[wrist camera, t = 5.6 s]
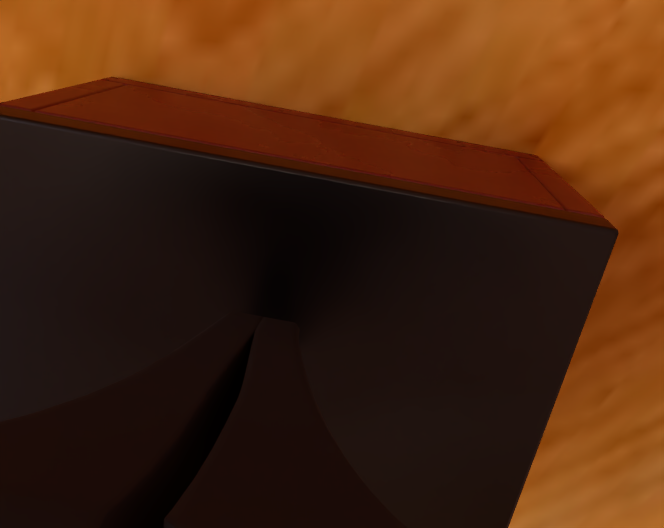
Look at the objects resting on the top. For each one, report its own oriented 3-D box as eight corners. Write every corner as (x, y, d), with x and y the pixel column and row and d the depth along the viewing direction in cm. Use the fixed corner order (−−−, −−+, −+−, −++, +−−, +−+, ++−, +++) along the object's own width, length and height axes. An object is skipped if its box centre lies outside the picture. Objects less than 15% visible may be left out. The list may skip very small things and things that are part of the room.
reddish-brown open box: (449, 447, 22) (472, 588, 16) (101, 381, 22) (10, 500, 17) (538, 155, 18) (606, 216, 12) (110, 76, 18) (-7, 102, 12)
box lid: (466, 604, 17) (470, 631, 16) (11, 517, 17) (-7, 541, 16) (607, 217, 12) (621, 230, 12) (-9, 103, 12) (-34, 108, 12)
